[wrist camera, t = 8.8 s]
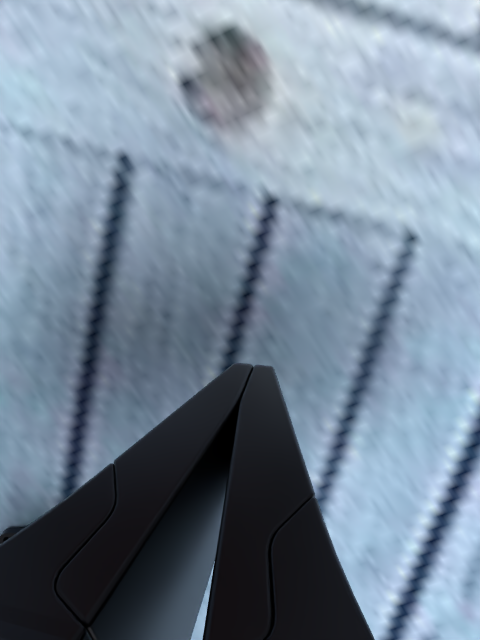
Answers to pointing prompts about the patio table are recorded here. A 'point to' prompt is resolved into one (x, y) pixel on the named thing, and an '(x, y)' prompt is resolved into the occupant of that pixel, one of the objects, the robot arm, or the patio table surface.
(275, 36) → the patio table surface
